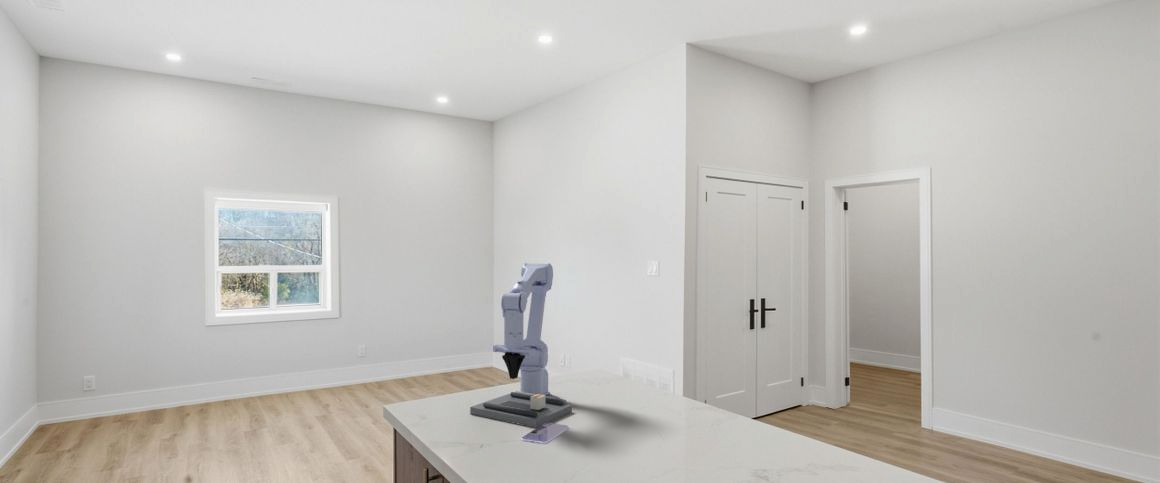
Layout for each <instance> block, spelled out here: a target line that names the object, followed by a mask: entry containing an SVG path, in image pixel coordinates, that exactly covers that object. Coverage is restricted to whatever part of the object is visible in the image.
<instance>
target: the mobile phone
mask: <svg viewBox="0 0 1160 483" xmlns="http://www.w3.org/2000/svg"><path fill="white" fill-rule="evenodd" d="M569 428H570V427H569V425H566V424H560V423H553V422H548V423H544V424H542V425H541V426H539V427H537V428H534V429H533V430H531V431H530V432H528V433H526V434H525V435H524V436H522V437H520V440H521V441H522V442H528V443H534V444H539V445H540V444H541V445H547V444H549V443H550V442H552V441H553V440H554V439H556V438H557V437H559V436H560V435H561V434H563V433H564V432H565V431H567V430H568V429H569Z"/></svg>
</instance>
